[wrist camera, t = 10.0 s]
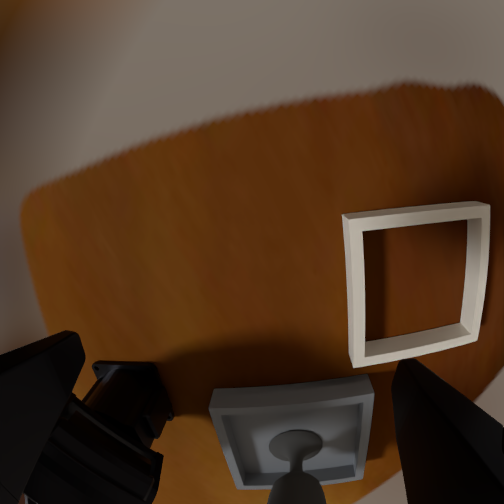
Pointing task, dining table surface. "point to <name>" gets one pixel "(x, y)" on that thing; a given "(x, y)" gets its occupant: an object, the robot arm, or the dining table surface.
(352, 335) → the white square frame
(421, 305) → the dining table surface
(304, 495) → the sundae
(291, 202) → the dining table surface
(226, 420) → the tray
